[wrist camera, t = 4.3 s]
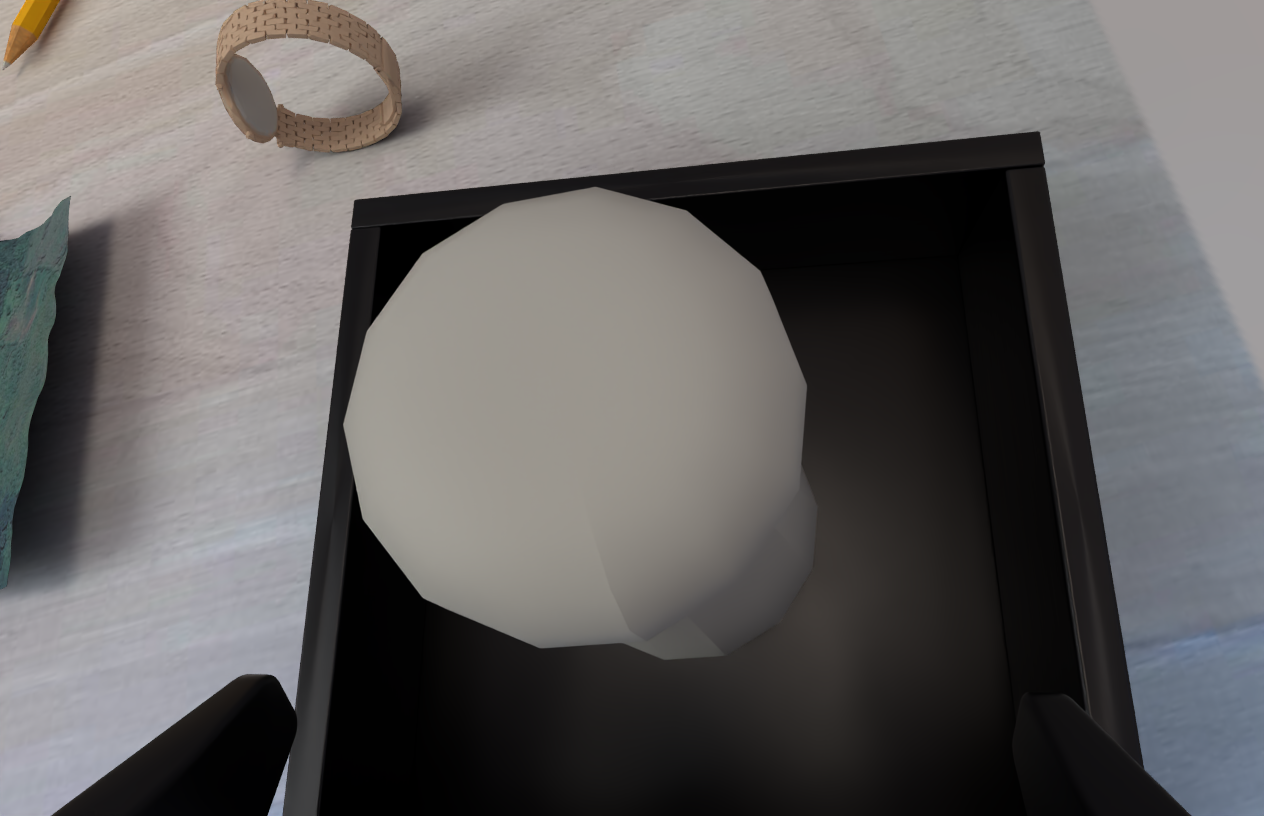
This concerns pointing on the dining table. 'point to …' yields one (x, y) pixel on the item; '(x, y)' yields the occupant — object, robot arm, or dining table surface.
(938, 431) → the tin
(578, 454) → the salt shaker
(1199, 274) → the dining table surface
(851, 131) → the dining table surface
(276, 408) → the dining table surface
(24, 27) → the pencil
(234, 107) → the perforated watch strap
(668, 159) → the dining table surface
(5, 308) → the terrain model
